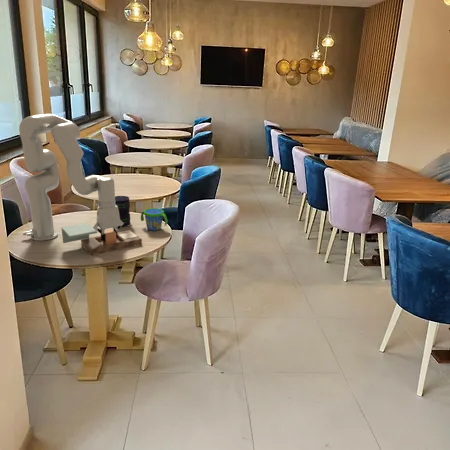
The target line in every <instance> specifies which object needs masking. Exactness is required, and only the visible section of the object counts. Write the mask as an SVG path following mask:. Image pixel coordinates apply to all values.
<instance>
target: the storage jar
mask: <svg viewBox="0 0 450 450" xmlns="http://www.w3.org/2000/svg"><path fill="white" fill-rule="evenodd" d="M130 202H131V201H130V197H129V196H127V195H115V204H116V206H117V207H118V210H119V216H120V220H121V221H122V222H123V223H124V224H123V225H122V226H121V227H120V228H126V227H128V225H129V226H130V225H131V214H130V207H131V206H130ZM125 226H126V227H125Z"/></svg>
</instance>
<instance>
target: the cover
mask: <svg viewBox="0 0 450 450" xmlns="http://www.w3.org/2000/svg"><path fill="white" fill-rule="evenodd" d="M93 227H94V226H91V224H90V223H88V222H85V223H79V224H78V223H77V224H73V225H72V224H71V225H65V226H61V235H62V236H61V237H62V243H63V244H66V243H71V242H77V241H81V240H83V239H88V238H90V235H95V234H98V231H96V230H95V229H94V228H93Z"/></svg>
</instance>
